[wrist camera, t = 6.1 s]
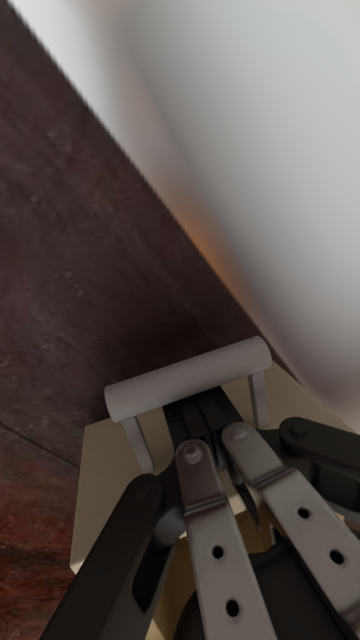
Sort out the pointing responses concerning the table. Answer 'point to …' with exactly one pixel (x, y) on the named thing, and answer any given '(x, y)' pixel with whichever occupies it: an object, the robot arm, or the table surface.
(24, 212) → the table surface
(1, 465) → the table surface
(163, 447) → the drawer
